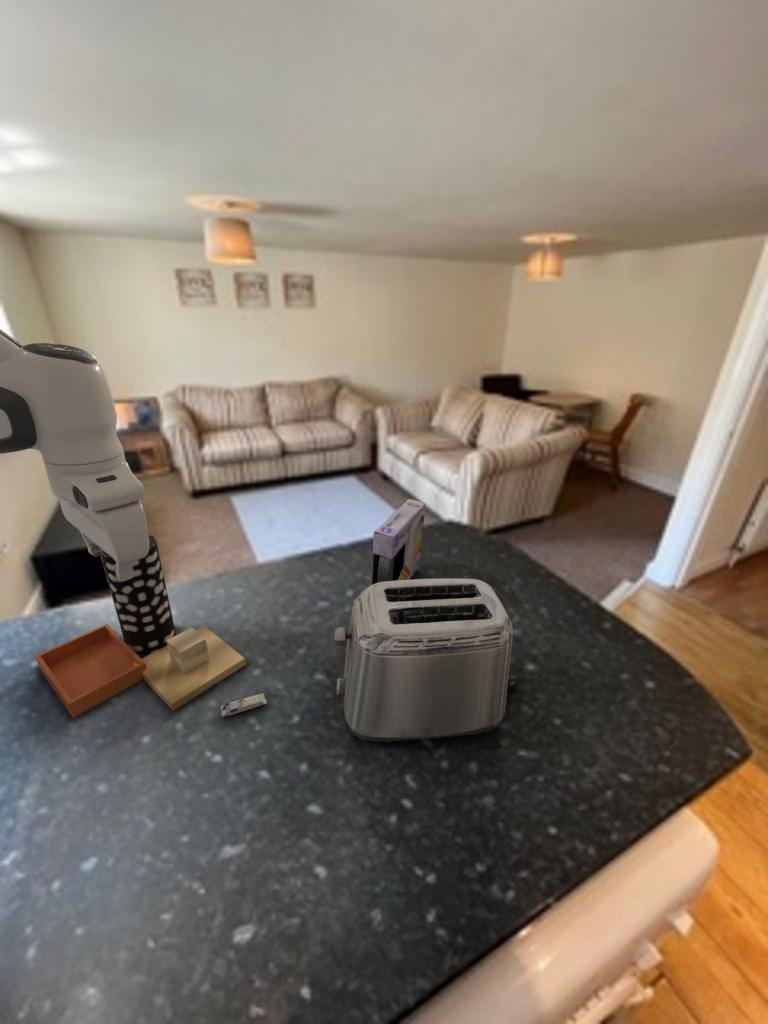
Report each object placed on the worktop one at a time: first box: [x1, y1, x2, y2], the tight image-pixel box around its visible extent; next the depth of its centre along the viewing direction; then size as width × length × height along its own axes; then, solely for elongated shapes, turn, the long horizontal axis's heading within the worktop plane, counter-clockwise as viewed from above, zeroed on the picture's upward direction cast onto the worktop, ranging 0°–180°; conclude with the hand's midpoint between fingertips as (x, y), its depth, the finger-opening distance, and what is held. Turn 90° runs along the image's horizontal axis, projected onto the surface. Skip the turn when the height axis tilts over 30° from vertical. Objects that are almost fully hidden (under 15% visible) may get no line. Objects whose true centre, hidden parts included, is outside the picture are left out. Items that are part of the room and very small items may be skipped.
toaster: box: [333, 578, 517, 743], centre depth 68 cm, size 17×30×19 cm, turn 95°
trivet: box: [133, 625, 247, 712], centre depth 76 cm, size 13×13×2 cm
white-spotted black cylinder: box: [100, 534, 177, 657], centre depth 78 cm, size 8×8×20 cm
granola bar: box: [219, 692, 268, 717], centre depth 69 cm, size 7×2×1 cm, turn 113°
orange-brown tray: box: [34, 623, 147, 719], centre depth 74 cm, size 15×11×3 cm
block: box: [167, 626, 209, 674], centre depth 75 cm, size 4×4×4 cm
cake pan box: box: [371, 498, 427, 585], centre depth 97 cm, size 19×5×18 cm, turn 155°
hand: (111, 565), depth 65 cm, fingers open, 8 cm apart
